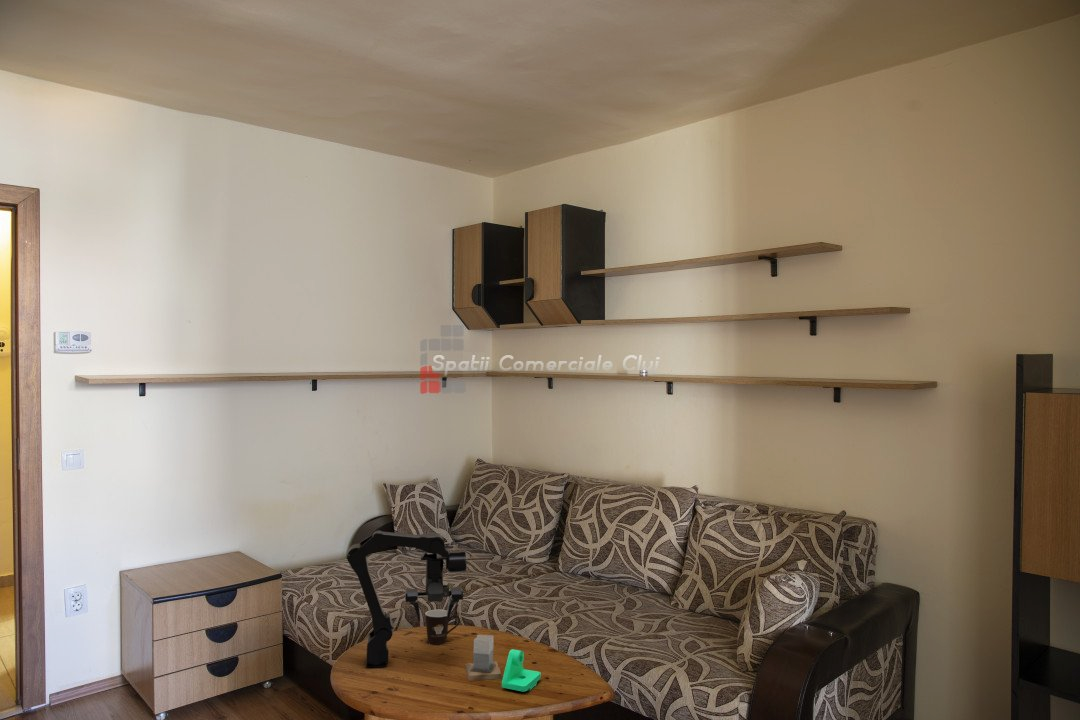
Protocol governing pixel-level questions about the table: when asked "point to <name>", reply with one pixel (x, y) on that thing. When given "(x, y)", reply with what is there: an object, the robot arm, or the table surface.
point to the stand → (483, 676)
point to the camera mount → (518, 673)
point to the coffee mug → (438, 626)
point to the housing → (483, 654)
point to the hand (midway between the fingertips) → (433, 620)
